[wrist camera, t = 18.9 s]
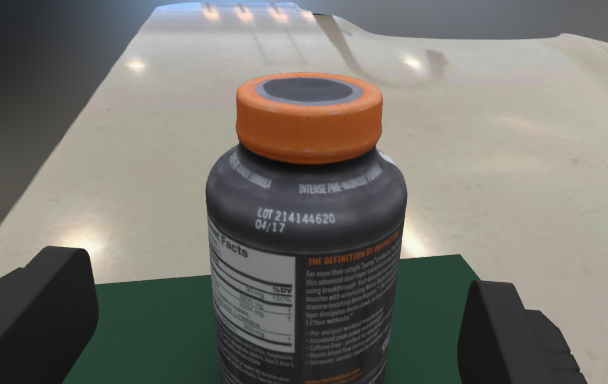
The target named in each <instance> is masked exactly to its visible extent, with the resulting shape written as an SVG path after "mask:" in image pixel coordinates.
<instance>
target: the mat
mask: <svg viewBox="0 0 608 384" xmlns="http://www.w3.org/2000/svg"><path fill="white" fill-rule="evenodd" d="M473 280H480V278H479V277H478V276H477V275H476V273H475V272H474V271H473V270H472V268H471V267H470V266H469V265H468V264H467V262H466V261H465V260H464V259H463V257H462V256H461V255H460V254H456V255H444V256H432V257H420V258H408V259H399V267H398V276H397V285H396V292H395V301H394V308H393V315H392V323H391V331H390V339H389V348H388V357H387V366H386V376H385V383H384V384H462V382H461V378H460V374H459V369H458V360H457V346H458V338H459V333H460V328H461V324H462V319H463V314H464V310H465V305H466V300H467V296H468V291H469V287H470V284H471V282H472V281H473ZM95 289H96V294H97V300H98V306H99V317H98V323H97V327H96V330H95V332H94V334H93V336H92V338H91V339H90V341H89V343H88V344H87V346H86V347H85V349H84V350H83V352H82V353H81V355H80V356H79V358H78V359H77V361H76V362H75V364H74V366H73V367H72V369H71V370H70V372H69V373H68V375H67V376H66V378H65V379H64V381H63V382H62V384H218V369H217V355H216V336H215V323H214V309H213V293H212V279H211V275H204V276H192V277H180V278H167V279H155V280H143V281H131V282H119V283H107V284H95Z"/></svg>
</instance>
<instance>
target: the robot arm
mask: <svg viewBox="0 0 608 384" xmlns="http://www.w3.org/2000/svg"><path fill="white" fill-rule="evenodd" d="M98 317H99V306H98V300H97V294H96V289H95V283H94V278H93V272H92V267H91V261H90V257H89V254H88V252H87V251H86V250H85V249H82V248H69V247H56V246H47V247H45V248H43V249H42V250H41V251H40V252H39V253H38V254H37V255H36V256H35V257H34V258H33V259H32V260H31V261H30V262H29V263H28V264H27V265H26V266H25V267H24V268H20V267H19V268H17V269H15V270H14V271H12V272H10V273H8V274H7V275H5V276H3V277H1V278H0V384H62V382H63V381H64V379H65V378H66V376H67V375H68V373H69V372H70V370H71V369H72V367H73V366H74V364H75V362H76V361H77V359H78V358H79V356H80V355H81V353H82V352H83V350H84V349H85V347H86V346H87V344H88V343H89V341H90V339H91V338H92V336H93V334H94V332H95V330H96V327H97V323H98ZM457 360H458V369H459V374H460V378H461V382H462V384H587V382H586V380H585V378H584V376H583V374H582V373H580V368H579V366H578V364H577V362H576V360H575V358H574V356H573V355H571V354H570V349H569V347H568V345H567V343H566V341H565V339H564V337H563V335H562V333H561V331H560V329H559V328H558V327H556V326H555V325H554V324H553V323H552V322H551V321H550V320H549V319H548V318H547V317H546V316H545V315H544V314H543V313H542V312H541V311H539V310H526V309H525V308H524V306H523V304H522V302H521V299H520V297H519V295H518V293H517V290H516V288H515V286H514V285H513V284H512V283H507V282H494V281H481V280H473V281H472V282H471V284H470V287H469V291H468V296H467V300H466V305H465V310H464V314H463V319H462V324H461V328H460V333H459V338H458V346H457Z"/></svg>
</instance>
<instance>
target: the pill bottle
mask: <svg viewBox="0 0 608 384" xmlns="http://www.w3.org/2000/svg"><path fill="white" fill-rule="evenodd" d="M236 102H237V121H236V132H237V135H238V139H239V144H238V145H236V146H235V147H233V148H231V149H230V150H229V151H227V152H226V153H225V154H223V155H222V156H221V157H220V158H219V159H218V161H217V162H216V163H215V165H214V166H213V168H212V170H211V171H210V173H209V176H208V179H207V183H206V204H207V218H208V233H209V249H210V264H211V279H212V293H213V309H214V323H215V336H216V355H217V369H218V384H384V383H385V376H386V366H387V357H388V348H389V339H390V331H391V323H392V315H393V308H394V301H395V292H396V285H397V276H398V267H399V259H400V252H401V244H402V234H403V227H404V220H405V210H406V204H407V188H406V183H405V180H404V177H403V174H402V172H401V171H400V170H399V168H398V167H397V166H396V165H395V163H394V162H393V161H392V160H391V159H390V158H389V157H388V156H386V155H385V154H384V153H383V152H381V151H380V150H378V149H377V148H376V143H377V142H378V140H379V138H380V136H381V134H382V123H381V119H382V105H383V97H382V93H381V91H380V89H379V88H378V87H376V86H375V85H373V84H371V83H369V82H367V81H364V80H361V79H357V78H354V77H349V76H344V75H337V74H327V73H313V72H297V73H280V74H274V75H267V76H261V77H258V78H254V79H251V80H249V81H246V82H245V83H243V84H242V85H241V86H240V87H239V89H238V90H237V93H236Z"/></svg>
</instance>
